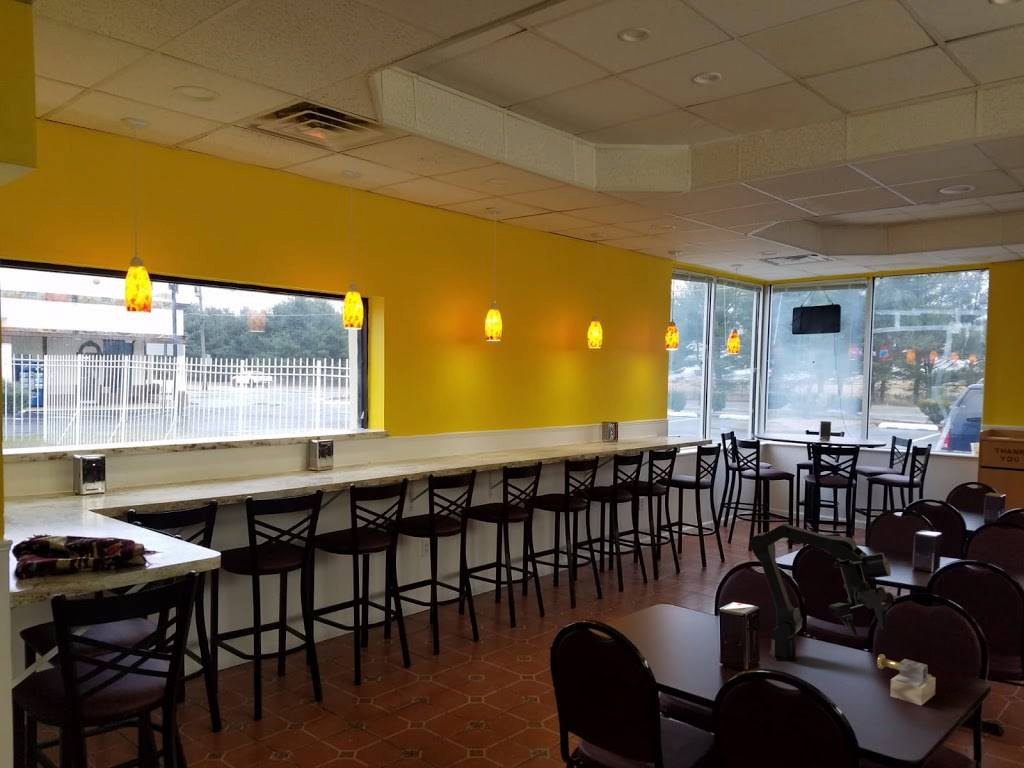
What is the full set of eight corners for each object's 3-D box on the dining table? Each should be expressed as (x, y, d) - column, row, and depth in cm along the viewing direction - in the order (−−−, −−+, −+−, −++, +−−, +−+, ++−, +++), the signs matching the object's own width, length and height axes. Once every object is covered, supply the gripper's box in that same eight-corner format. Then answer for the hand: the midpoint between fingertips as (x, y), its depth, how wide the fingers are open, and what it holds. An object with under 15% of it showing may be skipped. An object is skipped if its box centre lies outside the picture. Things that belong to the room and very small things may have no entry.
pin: (876, 669, 219) (877, 655, 219) (882, 666, 222) (882, 652, 222) (910, 679, 213) (911, 665, 213) (915, 675, 216) (916, 661, 216)
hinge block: (890, 696, 213) (891, 664, 213) (905, 685, 221) (905, 654, 221) (921, 705, 208) (922, 673, 207) (935, 694, 215) (936, 662, 215)
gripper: (841, 589, 220) (857, 644, 218) (898, 574, 223) (914, 628, 221) (821, 586, 231) (835, 639, 229) (875, 572, 234) (890, 623, 232)
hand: (869, 632), depth 227 cm, fingers open, 9 cm apart
